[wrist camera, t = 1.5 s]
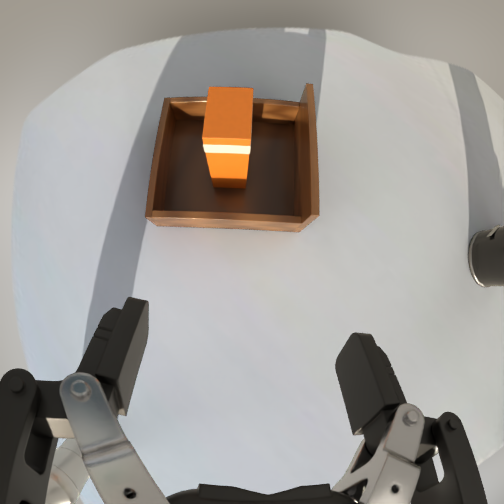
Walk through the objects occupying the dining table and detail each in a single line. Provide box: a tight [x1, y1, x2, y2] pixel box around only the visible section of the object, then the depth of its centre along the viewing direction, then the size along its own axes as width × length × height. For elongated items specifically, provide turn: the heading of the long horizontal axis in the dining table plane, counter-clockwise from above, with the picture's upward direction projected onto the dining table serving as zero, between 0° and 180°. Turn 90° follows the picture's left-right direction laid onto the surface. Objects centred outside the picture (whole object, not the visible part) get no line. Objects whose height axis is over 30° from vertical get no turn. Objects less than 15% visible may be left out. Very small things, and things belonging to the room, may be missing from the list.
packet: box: [202, 87, 253, 189], centre depth 29 cm, size 4×6×13 cm
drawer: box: [145, 83, 319, 232], centre depth 32 cm, size 18×16×9 cm
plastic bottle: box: [45, 438, 90, 504], centre depth 21 cm, size 6×7×20 cm
